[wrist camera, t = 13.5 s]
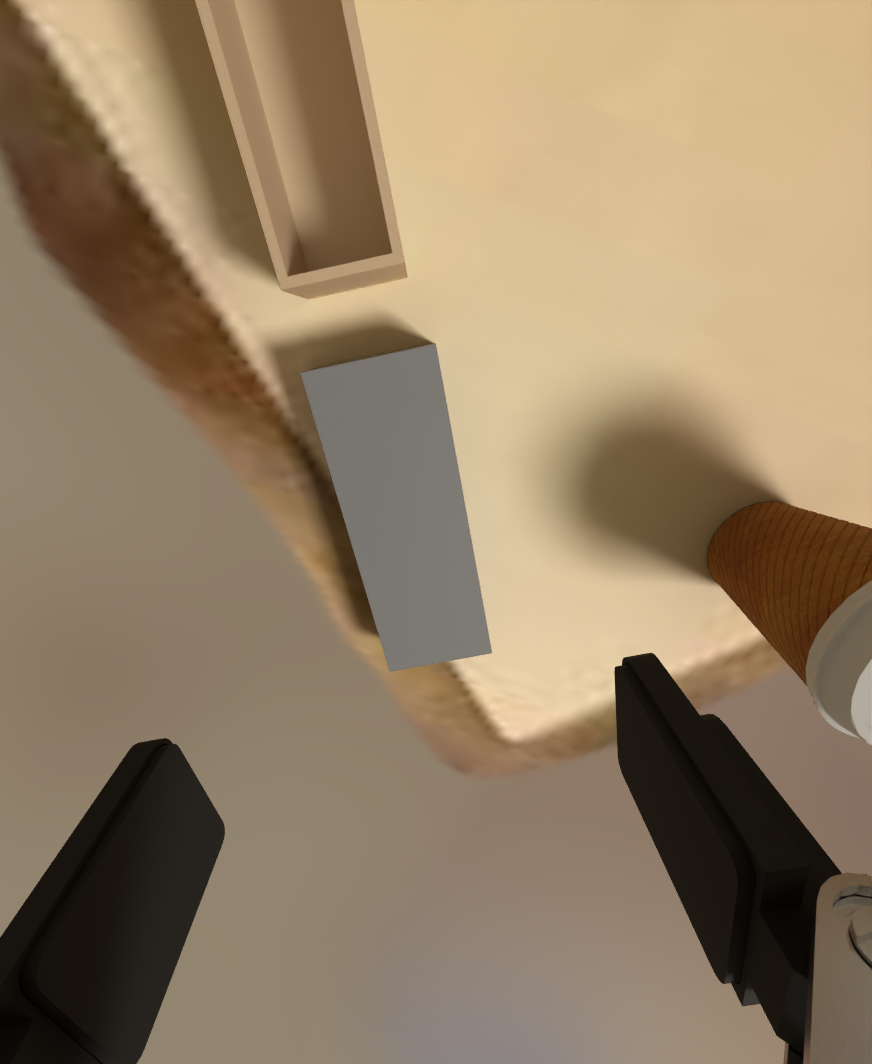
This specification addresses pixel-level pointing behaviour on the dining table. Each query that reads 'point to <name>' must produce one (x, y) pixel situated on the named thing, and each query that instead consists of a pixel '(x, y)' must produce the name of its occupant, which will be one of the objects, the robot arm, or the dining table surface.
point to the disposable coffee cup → (806, 600)
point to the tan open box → (307, 139)
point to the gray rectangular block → (402, 502)
